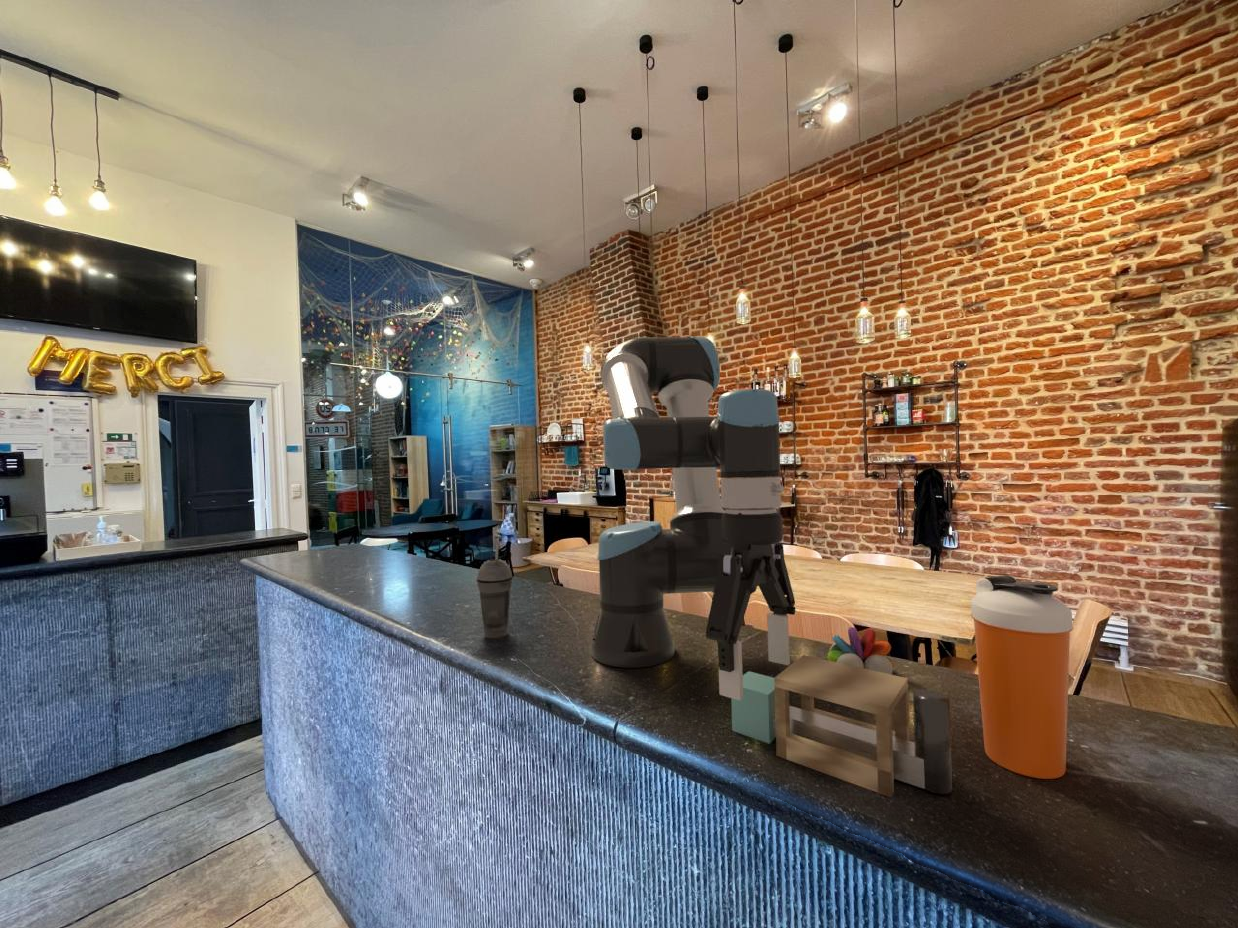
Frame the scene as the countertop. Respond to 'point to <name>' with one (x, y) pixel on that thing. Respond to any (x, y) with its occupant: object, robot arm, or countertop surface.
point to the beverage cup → (495, 595)
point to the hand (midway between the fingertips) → (757, 678)
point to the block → (755, 708)
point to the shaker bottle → (1023, 674)
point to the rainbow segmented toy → (862, 652)
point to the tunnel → (843, 718)
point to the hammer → (911, 760)
